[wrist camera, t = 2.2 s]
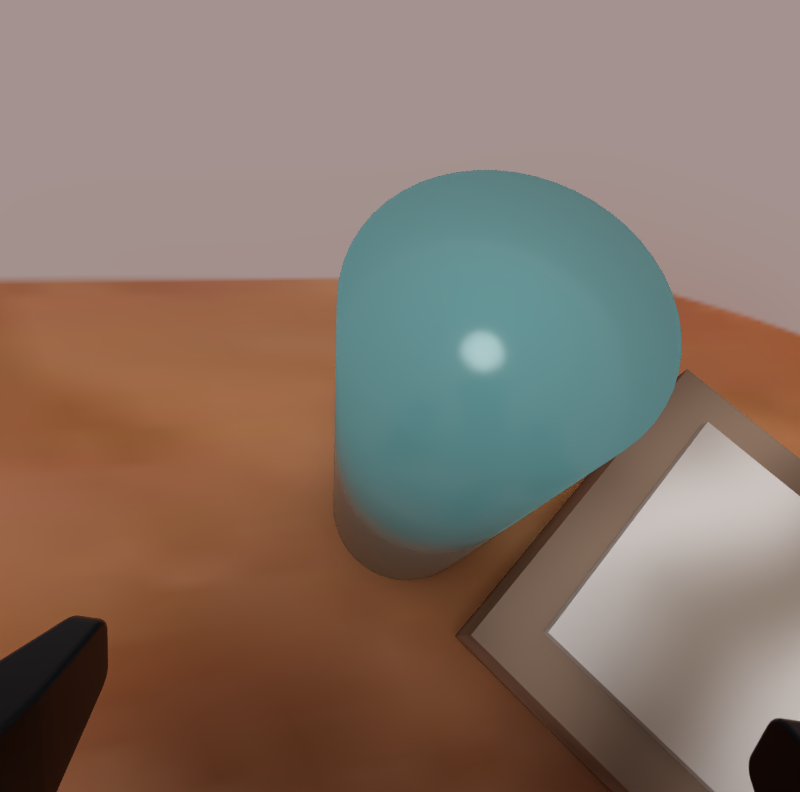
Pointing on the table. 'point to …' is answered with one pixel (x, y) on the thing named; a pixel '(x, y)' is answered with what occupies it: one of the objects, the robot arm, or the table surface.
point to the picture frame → (661, 604)
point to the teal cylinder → (487, 362)
